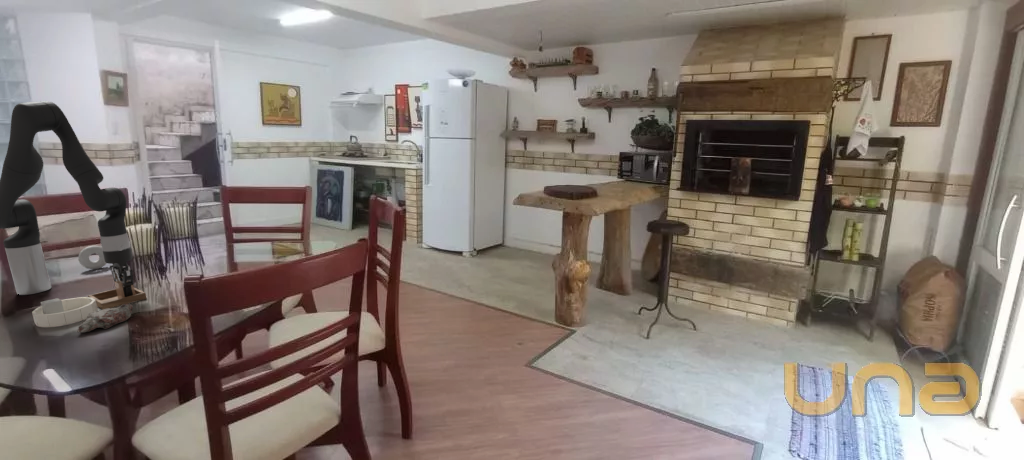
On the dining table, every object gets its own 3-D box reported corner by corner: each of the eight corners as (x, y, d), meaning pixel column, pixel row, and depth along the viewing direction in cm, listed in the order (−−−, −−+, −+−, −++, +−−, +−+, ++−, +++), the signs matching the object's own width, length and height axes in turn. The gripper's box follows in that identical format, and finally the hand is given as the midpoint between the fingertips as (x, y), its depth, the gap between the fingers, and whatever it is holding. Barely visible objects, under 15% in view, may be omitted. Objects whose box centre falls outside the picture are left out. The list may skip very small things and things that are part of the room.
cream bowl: (30, 321, 153) (27, 308, 152) (89, 306, 164) (86, 294, 163) (43, 332, 144) (40, 318, 144) (104, 315, 156) (101, 303, 155)
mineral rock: (80, 337, 141) (77, 323, 140) (72, 331, 145) (69, 317, 144) (141, 320, 152) (139, 306, 151) (132, 314, 157) (129, 301, 156)
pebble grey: (45, 320, 151) (40, 302, 150) (62, 316, 155) (57, 298, 153) (48, 323, 149) (44, 304, 148) (65, 318, 152) (61, 300, 151)
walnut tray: (89, 302, 168) (87, 295, 167) (131, 291, 177) (129, 285, 177) (103, 310, 160) (101, 303, 159) (146, 299, 169) (145, 292, 169)
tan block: (117, 298, 170) (114, 281, 169) (131, 294, 173) (128, 278, 172) (122, 300, 168) (118, 283, 166) (136, 296, 171) (132, 280, 170)
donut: (82, 272, 201) (76, 249, 198) (80, 271, 203) (74, 247, 200) (112, 266, 208) (107, 243, 206) (110, 265, 210) (105, 242, 208)
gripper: (95, 247, 167) (106, 294, 171) (110, 253, 159) (121, 303, 163) (122, 242, 173) (131, 288, 177) (137, 247, 165) (147, 296, 169)
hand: (126, 295), depth 170 cm, fingers closed on tan block, 4 cm apart
